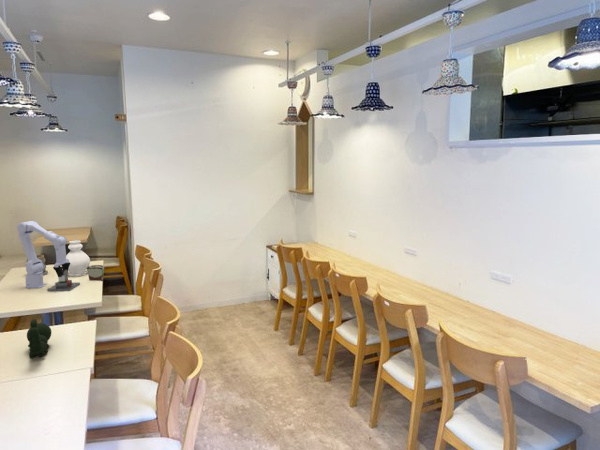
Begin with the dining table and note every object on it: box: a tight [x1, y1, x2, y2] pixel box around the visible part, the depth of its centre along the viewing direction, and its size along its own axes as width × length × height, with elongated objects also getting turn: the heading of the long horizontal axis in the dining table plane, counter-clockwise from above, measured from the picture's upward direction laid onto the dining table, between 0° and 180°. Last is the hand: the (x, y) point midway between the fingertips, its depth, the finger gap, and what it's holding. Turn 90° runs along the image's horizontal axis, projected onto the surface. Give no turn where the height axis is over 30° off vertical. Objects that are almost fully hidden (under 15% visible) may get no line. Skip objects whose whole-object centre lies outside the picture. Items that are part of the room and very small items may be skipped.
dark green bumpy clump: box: [26, 318, 52, 360], centre depth 181 cm, size 9×19×25 cm
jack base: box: [46, 279, 81, 292], centre depth 273 cm, size 14×14×5 cm
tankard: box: [26, 254, 49, 277], centre depth 301 cm, size 20×13×15 cm, turn 25°
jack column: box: [57, 270, 69, 282], centre depth 272 cm, size 4×4×7 cm
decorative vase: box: [66, 239, 91, 277], centre depth 304 cm, size 18×18×25 cm
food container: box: [85, 264, 105, 282], centre depth 292 cm, size 12×6×10 cm, turn 84°
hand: (62, 275), depth 272 cm, fingers open, 7 cm apart
